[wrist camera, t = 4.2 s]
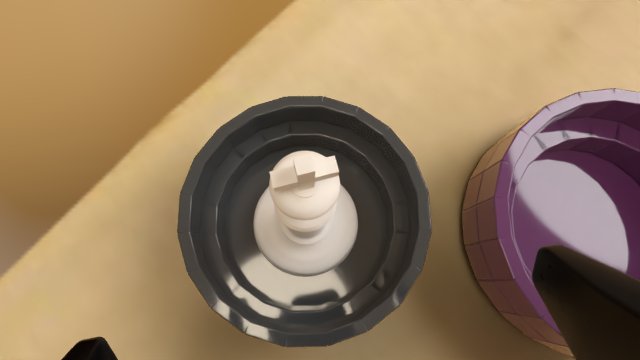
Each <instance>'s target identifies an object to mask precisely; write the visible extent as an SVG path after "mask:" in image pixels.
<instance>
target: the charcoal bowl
mask: <svg viewBox="0 0 640 360" xmlns="http://www.w3.org/2000/svg"><path fill="white" fill-rule="evenodd" d="M297 151H312V152H316V153H319V154H321V155H323V156H324V157H330V156H335V159H336V162H337V165H338V169H339V174H338V175H339V179H340V184H341V185H342V186H343V187H344V188H345V189H346V191H347V192H348V193H349V195H350V196H351V198H352V200H353V202H354V205H355V208H356V211H357V217H358V232H357V237H356V240H355V243H354V246H353V248H352V250H351V251H350V253H349V254H348V256H347V257H346V258H345V259H344V260H343V262H341V263H340V264H339V265H338V266H337V267H335V268H334V269H332V270H330V271H328V272H326V273H324V274H321V275H317V276H310V277H301V276H294V275H290V274H287V273H285V272H283V271H281V270H279V269H277V268H276V267H274V266H273V265H272V264H271V263H270V262H269V261H268V260H267V259H266V258H265V257H264V255H263V254H262V253H261V251H260V249H259V247H258V245H257V242H256V239H255V235H254V226H253V223H254V214H255V210H256V206H257V204H258V201H259V199H260V197H261V196H262V194H263V193H264V191H265V190H266V189H267V188H268V187H269V181H270V173H269V172H270V171H273V169H274V167H275V166H276V164H277V163H278V162H279V161H280V160H281V159H282V158H284V157H285V156H287V155H289V154H291V153H294V152H297ZM431 230H432V226H431V214H430V202H429V193H428V189H427V186H426V184H425V182H424V179H423V177H422V174H421V172H420V169H419V167H418V165H417V162H416V160H415V157H413V154H412V153H411V152H410V151H409V150H408V148H407V147H406V146H405V145H404V144H403V142H402V141H401V140H400V139H399V138H398V136H397V135H396V134H395V133H394V132H393V130H392V129H391V128H389V126H387V125H386V124H384V123H383V122H381V121H380V120H378V119H376V118H375V117H373V116H372V115H370V114H369V113H367V112H366V111H364V110H363V109H361V108H358V107H357V106H354V105H351V104H347V103H344V102H340V101H337V100H334V99H330V98H327V97H322V96H288V97H282V98H279V99H276V100H272V101H269V102H266V103H262V104H259V105H256V106H252V107H251V108H248V109H247V110H245V111H244V112H242V113H241V114H239V115H238V116H236V117H235V118H233V119H232V120H230V121H229V122H227V123H226V124H224V125H223V126H221V127H220V129H218V130H217V131H216V132H215V133H214V135H213V136H212V137H211V138H210V140H209V141H208V142H207V143H206V144H205V146H204V147H203V148H202V149H201V150H200V152H199V153H198V154H197V155H196V157H195V158H194V160H193V162H192V165H191V167H190V170H189V172H188V175H187V177H186V180H185V182H184V185H183V187H182V190H181V192H180V200H179V214H178V229H177V233H178V239H179V243H180V247H181V251H182V254H183V258H184V262H185V266H186V270H187V272H188V275H189V277H190V278H191V280H192V281H193V283H194V284H195V286H196V287H197V289H198V290H199V292H200V293H201V295H202V296H203V298H204V299H205V301H206V302H207V304H208V305H209V307H211V309H212V310H213V311H215V312H216V313H217V314H219V315H220V316H221V317H223V318H224V319H225V320H227V321H228V322H229V323H230V324H232V325H233V326H234V327H236V328H237V329H238V330H240V331H241V332H242V333H245V334H246V335H249V336H252V337H255V338H258V339H261V340H264V341H267V342H270V343H273V344H277V345H280V346H283V347H322V346H330V345H333V344H336V343H338V342H341V341H344V340H347V339H349V338H352V337H355V336H357V335H360V334H363V333H365V332H367V331H369V330H371V329H372V328H373V327H374V326H375V325H377V324H378V323H379V322H380V321H382V320H383V319H384V318H385V317H386V316H388V315H389V314H390V313H391V312H393V311H394V310H395V309H396V308H397V307H399V306H400V304H401V303H402V302H403V300H404V299H405V297H406V296H407V294H408V292H409V291H410V289H411V288H412V286H413V284H414V283H415V281H416V279H417V278H418V276H419V275H420V273H421V271H422V269H423V266H424V261H425V257H426V253H427V249H428V245H429V241H430V236H431Z"/></svg>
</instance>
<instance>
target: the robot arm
mask: <svg viewBox="0 0 640 360" xmlns="http://www.w3.org/2000/svg"><path fill="white" fill-rule="evenodd" d="M532 280H533V284H534V286H535V288H536V290H537V292H538V294H539V295H540V297H541V299H542V301H543V303H544V304H545V306H546V308H547V310H548V312H549V313H550V315H551V317H552V319H553V321H554V322H555V324H556V326H557V328H558V330H559V331H560V333H561V335H562V337H563V339H564V341H565V342H566V344H567V346H568V347H569V349H570V351H571V352H572V354H573V355H574V357H575V358H576V360H640V280H638V279H636V278H634V277H632V276H629V275H627V274H625V273H623V272H621V271H619V270H616V269H614V268H612V267H610V266H608V265H605V264H603V263H601V262H599V261H597V260H594V259H592V258H590V257H588V256H586V255H583V254H581V253H579V252H577V251H575V250H573V249H570V248H568V247H566V246H564V245H561V244H553V245H548V246H543V247H540V248H539V249H538V251H537V254H536V258H535V263H534V267H533V272H532ZM62 360H118V359H117V357H116V356H115V354H114V352H113V351H112V349H111V348H110V346H109V344H108V343H107V341H106V340H105V339H104V338H103V337H95V338H90V339H85V340H81V341H79V342H78V343H77V344H76V345H75V346H74V347H73V348H72V349H71V350H70V351H69V352H68V353H67V354H66V355H65V356H64V357H63V359H62Z"/></svg>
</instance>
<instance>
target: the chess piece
mask: <svg viewBox="0 0 640 360" xmlns="http://www.w3.org/2000/svg"><path fill="white" fill-rule="evenodd" d="M269 173H270V181H269V187H268V188H267V189H266V190H265V191H264V193H263V194H262V196H261V197H260V199H259V201H258V204H257V206H256V210H255V214H254V223H253V226H254V235H255V239H256V242H257V245H258V247H259V249H260V251H261V253H262V254H263V255H264V257H265V258H266V259H267V260H268V261H269V262H270V263H271V264H272V265H273V266H274V267H276V268H277V269H279V270H281V271H283V272H285V273H287V274H290V275H294V276H301V277H310V276H317V275H321V274H324V273H326V272H328V271H330V270H332V269H334V268H335V267H337V266H338V265H339V264H340V263H341V262H343V260H344V259H345V258H346V257H347V256H348V254H349V253H350V251H351V250H352V248H353V246H354V243H355V240H356V237H357V232H358V217H357V211H356V208H355V205H354V202H353V200H352V198H351V196H350V195H349V193H348V192H347V191H346V189H345V188H344V187H343V186H342V185H341V184H340V179H339V175H338V174H339V169H338V165H337V162H336V159H335V156H330V157H324V156H323V155H321V154H319V153H316V152H312V151H297V152H294V153H291V154H289V155H287V156H285V157H284V158H282V159H281V160H280V161H279V162H278V163H277V164H276V166H275V167H274V169H273V171H270V172H269Z"/></svg>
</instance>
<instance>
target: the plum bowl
mask: <svg viewBox="0 0 640 360" xmlns="http://www.w3.org/2000/svg"><path fill="white" fill-rule="evenodd" d="M462 223H463V237H464V245H465V249H466V252H467V255H468V257H469V260H470V263H471V266H472V269H473V271H474V274H475V277H476V279H478V280H477V281H478V283H479V284H480V286H481V287H482V289H483V290H484V292H485V293H486V295H487V296H488V297H489V299H490V300H491V302H492V303H493V305H494V306H495V308H496V309H497V310H498V311H499V313H500V314H502V315H503V316H504V317H505V318H506V319H507V320H508V321H510V322H511V323H512V324H513V325H514V326H515V327H517V328H518V329H519V330H520V331H521V332H522V333H524V334H525V335H526V336H528V337H529V338H531V339H533V340H535V341H537V342H539V343H541V344H543V345H546V346H548V347H550V348H552V349H554V350H556V351H558V352H560V353H563V354H567V355H570V356H574V355H573V354H572V352H571V351H570V349H569V347H568V346H567V344H566V342H565V341H564V339H563V337H562V335H561V333H560V331H559V330H558V328H557V326H556V324H555V322H554V321H553V319H552V317H551V315H550V313H549V312H548V310H547V308H546V306H545V304H544V303H543V301H542V299H541V297H540V295H539V294H538V292H537V290H536V288H535V286H534V284H533V280H532V272H533V267H534V263H535V258H536V254H537V251H538V249H539V248H540V247H543V246H548V245H553V244H561V245H564V246H566V247H568V248H570V249H573V250H575V251H577V252H579V253H581V254H583V255H586V256H588V257H590V258H592V259H594V260H597V261H599V262H601V263H603V264H605V265H608V266H610V267H612V268H614V269H616V270H619V271H621V272H623V273H625V274H627V275H629V276H632V277H634V278H636V279H638V280H640V92H635V91H628V90H622V89H615V88H614V89H603V90H594V91H585V92H578V93H574V94H572V95H570V96H567V97H565V98H563V99H560V100H558V101H556V102H553V103H551V104H549V105H546V106H545V107H543V108H542V109H540V110H539V111H538V112H536V113H535V114H534V115H532V116H531V117H529V118H528V119H527V120H525V121H524V122H523V123H521V124H520V125H519V126H517V127H516V128H514V129H513V130H512V131H510V132H509V133H508V134H506V135H505V136H504V137H503V138H502V139H500V140H499V141H498V142H497V143H496V144H495V145H494V146H493V147H491V148H490V149H489V150H488V151H487V152H486V153H485V154H484V155H483V157H482V158H481V160H480V162H479V163H478V165H477V167H476V169H475V170H474V172H473V174H472V175H471V177H470V179H469V181H468V186H467V190H466V195H465V199H464V204H463V208H462Z"/></svg>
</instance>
